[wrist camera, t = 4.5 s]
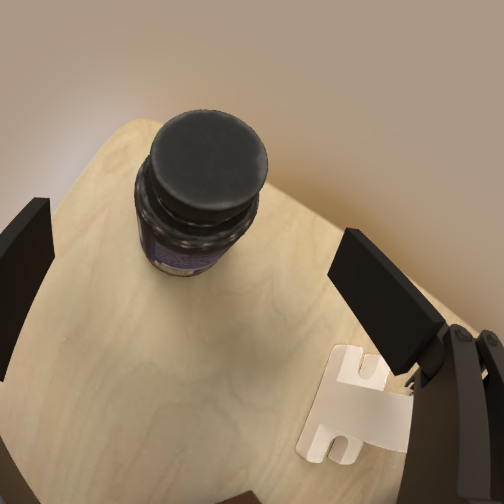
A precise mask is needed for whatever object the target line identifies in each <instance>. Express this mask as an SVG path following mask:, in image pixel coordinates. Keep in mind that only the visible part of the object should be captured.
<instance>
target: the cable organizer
mask: <svg viewBox="0 0 504 504" xmlns="http://www.w3.org/2000/svg"><path fill="white" fill-rule="evenodd" d="M362 352H363V349H362V348H360V347H357V346H354V345H339V344H338V345H335V346H334V347H333V348H332V351H331V354H330V357H329V360H328V363H327V366H326V369H325V372H324V375H323V377H322V380H321V383H320V386H319V389H318V391H317V394H316V397H315V400H314V402H313V405H312V408H311V410H310V413H309V415H308V418H307V420H306V423H305V425H304V428H303V430H302V433H301V435H300V438H299V440H298V442H297V445H296V447H295V451H296V452H297V453H298V454H299V455H301V456H302V457H303V458H305V459H306V460H308V461H309V462H316V463H321V462H322V459H323V457H324V455H325V453H326V450H327V448H328V446H329V444H330V442H331V441H332V440H333V439H334V438H335V441H334V443H333V446H332V448H331V450H330V453H329V455H328V458H330V459H331V460H333V461H335V462H336V463H338V464H341V465H350V464H352V463H354V462H355V461H356V459H357V457H358V454H359V452H360V450H361V447H362V445H363V442H366V443H369V444H372V445H374V446H378V447H381V448H384V449H389V450H393V451H398V452H404V453H407V448H408V442H409V434H410V427H411V418H412V408H413V397H412V396H407V395H401V394H396V393H391V392H386V391H383V389H384V386H385V383H386V380H387V376H388V373H389V370H390V368H389V366H388V365H387V363H386V362H385V360H384V358H383V357H382V356H381V355H373V354H365V356H364V359H363V363H362V366H361V369H360V371H359V372H358V366H359V362H360V359H361V356H362Z"/></svg>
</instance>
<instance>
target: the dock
mask: <svg viewBox="0 0 504 504" xmlns="http://www.w3.org/2000/svg"><path fill="white" fill-rule="evenodd" d="M216 504H262V503H261V502H260V501H259V500H258V498H257V497H256V496H255V494H254V493H253V492H252V491H248V492H246V493H243V494H241V495H238V496H236V497H233V498H230V499H228V500H225V501H223V502H219V503H216Z"/></svg>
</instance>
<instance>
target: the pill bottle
mask: <svg viewBox="0 0 504 504" xmlns="http://www.w3.org/2000/svg"><path fill="white" fill-rule="evenodd" d="M267 172H268V158H267V153H266V149H265V147H264V145H263V143H262V142H261V140H260V138H259V137H258V135H257V134H256V133H255V131H254V130H253V129H252V128H251V127H250V126H248V125H247V124H246V123H244V122H243V121H241V120H240V119H238V118H236V117H235V116H232V115H230V114H227V113H224V112H221V111H216V110H206V109H205V110H201V109H200V110H194V111H189V112H185V113H182V114H180V115H178V116H176V117H174V118H172V119H171V120H169V121H168V122H167V123H165V125H164V126H163V127H162V128H161V129H160V130H159V131H158V133H157V134H156V136H155V138H154V141H153V143H152V146H151V150H150V155H148V157H147V158H146V159H145V161H144V162H143V164H142V165H141V167H140V169H139V171H138V174H137V177H136V182H135V191H134V198H135V206H136V213H137V221H138V228H139V235H140V241H141V245H142V248H143V251H144V252H145V254H146V256H147V258H148V259H149V260H150V262H151V263H152V264H153V265H154V266H155V267H156V268H158V269H160V270H161V271H163V272H165V273H167V274H169V275H174V276H181V277H190V276H194V275H198V274H200V273H202V272H204V271H206V270H207V269H209V268H210V267H212V266H213V265H214V264H215V263H216V262H217V260H218V259H219V258H220V257H221V256H222V255H223V254H224V253H225V252H226V251H227V250H228V249H229V248H230V247H231V246H232V245H233V244H234V243H235V242H236V241H237V240H238V239H239V238H240V237H241V236H242V235H244V234H245V232H246V231H247V229H248V228H249V227H250V226H251V224H252V223H253V220H254V218H255V216H256V214H257V209H258V203H259V191H260V190H261V188H262V187H263V185H264V183H265V180H266V176H267Z"/></svg>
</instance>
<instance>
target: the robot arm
mask: <svg viewBox="0 0 504 504" xmlns="http://www.w3.org/2000/svg"><path fill="white" fill-rule="evenodd" d="M54 258H55V253H54V245H53V236H52V225H51V213H50V198H36V197H35V198H33V199H32V200H31V201H30V202H29V203H28V204H27V205H26V206H25V207H24V208H23V209H22V210H21V212H20V213H19V214H18V215H17V216H16V217H15V218H14V219H13V220H12V221H11V222H10V224H9V225H8V226H7V227H6V228H5V229H4V230H3V232H2V233H1V234H0V381H1V382H3V381H4V378H5V374H6V371H7V368H8V365H9V362H10V359H11V356H12V353H13V350H14V347H15V345H16V342H17V339H18V337H19V334H20V331H21V329H22V326H23V324H24V321H25V319H26V317H27V314H28V312H29V310H30V307H31V305H32V303H33V301H34V298H35V296H36V294H37V292H38V290H39V288H40V285H41V283H42V281H43V279H44V277H45V275H46V273H47V271H48V269H49V267H50V266H51V264H52V262H53V260H54ZM327 276H328V277H329V278H330V280H331V281H332V283H333V284H334V285H335V287H336V288H337V290H338V291H339V293H340V294H341V296H342V297H343V298H344V300H345V301H346V303H347V304H348V306H349V307H350V309H351V310H352V312H353V313H354V315H355V316H356V318H357V319H358V320H359V322H360V323H361V325H362V326H363V328H364V329H365V331H366V332H367V334H368V335H369V337H370V339H371V340H372V342H373V343H374V345H375V346H376V348H377V349H378V351H379V352H380V354H381V355H382V357H383V358H384V360H385V362H386V363H387V365H388V366H389V368H390V369H391V371H392V373H393V374H394V376H397V375H401V374H404V373H408V371H409V370H410V369H411V368H412V367H413V365H414V364H415V363H416V362H417V364H418V365H419V366H420V367H419V368H418V369H417V371H416V372H415V373H414V374H413V375H412V377H411V378H410V379H409V380H408V381H407V382H406V384H405V387H408V386H409V384H410V383H411V382H414V384H413V385H412V386H411V388H410V389H412V390H414V396H413V408H412V418H411V427H410V434H409V442H408V448H407V454H406V460H405V466H404V471H403V476H402V481H401V486H400V490H399V494H398V498H397V502H396V504H504V347H503V345H502V343H501V342H500V340H499V339H498V337H497V336H496V334H495V333H493V332H492V331H488V330H483V331H482V332H481V333H480V335H479V336H478V338H477V339H476V338H473V336H472V335H471V334H470V333H469V332H468V331H467V330H466V329H465V328H464V327H462V326H460V325H457V324H452V325H451V326H450V327H449V326H448V324H447V323H446V320H445V319H444V318H443V317H442V316H441V314H440V313H439V312H438V311H437V310H436V309H435V308H434V306H433V305H432V304H431V303H430V302H429V301H428V300H427V299H426V298H425V296H424V295H423V294H422V293H421V292H420V291H419V290H418V289H417V288H416V287H415V286H414V285H413V283H412V282H411V281H410V280H409V279H408V278H407V277H406V276H405V275H404V274H403V273H402V272H401V271H400V270H399V269H398V268H397V267H396V266H395V265H394V264H393V263H392V262H391V261H390V260H389V259H388V258H387V257H386V256H385V255H384V254H383V253H382V252H381V251H380V250H379V249H378V248H377V247H376V246H375V245H374V244H373V243H372V242H371V241H370V240H369V239H368V238H367V237H366V236H365V235H364V234H363V233H362V232H361V231H360V230H359V229H353V228H346V229H345V232H344V235H343V237H342V240H341V242H340V245H339V247H338V250H337V252H336V255H335V257H334V260H333V262H332V264H331V267H330V269H329V272H328V274H327ZM485 369H487V372H488V375H487V376H486V377H485V378H484V379H483V380H482V375H481V374H482V373H483V371H484V370H485ZM0 504H41V503H40V502H39V500H38V499H37V498H36V496H35V495H34V493H33V492H32V490H31V489H30V487H29V486H28V484H27V483H26V481H25V479H24V478H23V476H22V475H21V473H20V471H19V470H18V468H17V466H16V464H15V463H14V461H13V459H12V457H11V455H10V454H9V452H8V450H7V448H6V446H5V444H4V442H3V440H2V438H1V436H0Z"/></svg>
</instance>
